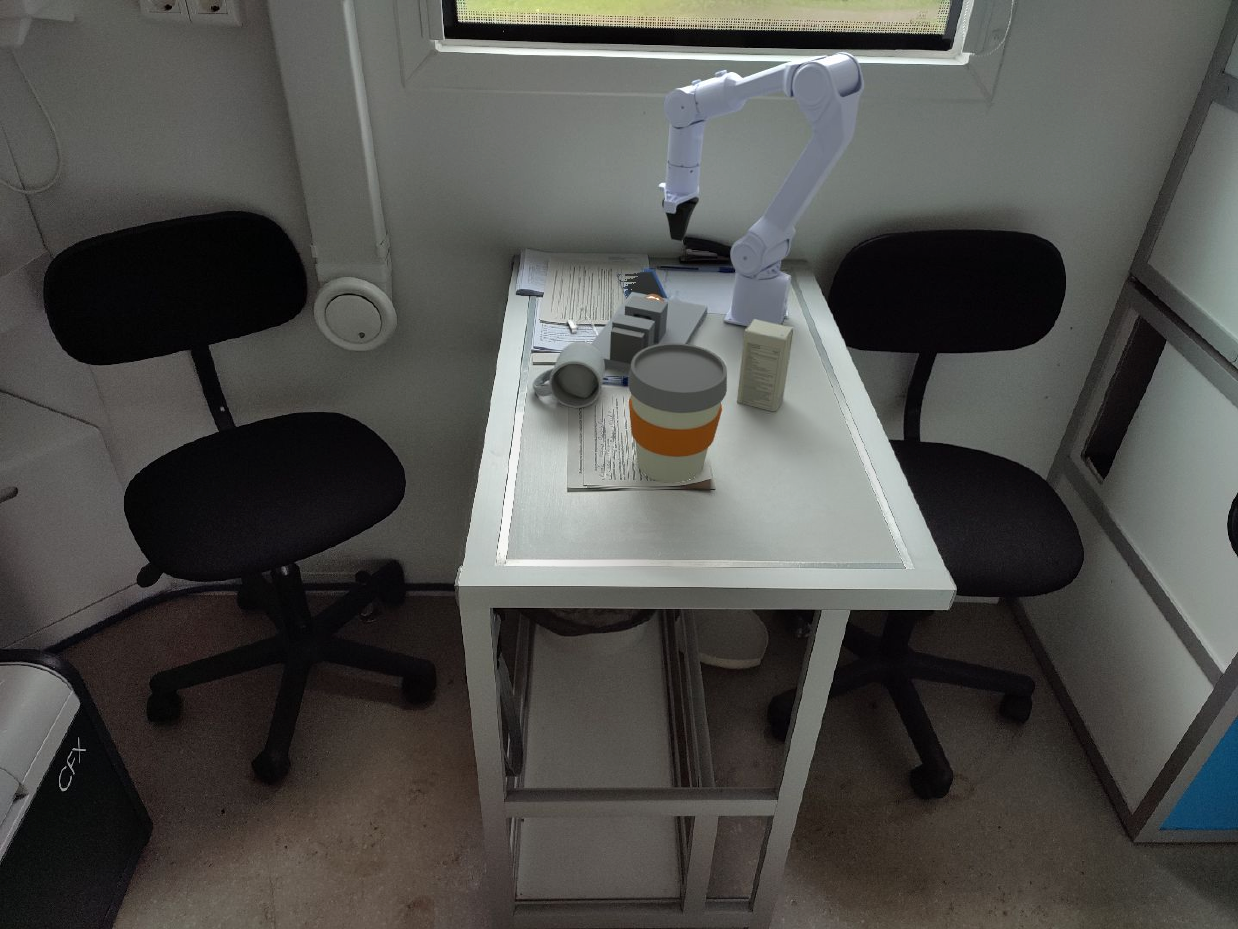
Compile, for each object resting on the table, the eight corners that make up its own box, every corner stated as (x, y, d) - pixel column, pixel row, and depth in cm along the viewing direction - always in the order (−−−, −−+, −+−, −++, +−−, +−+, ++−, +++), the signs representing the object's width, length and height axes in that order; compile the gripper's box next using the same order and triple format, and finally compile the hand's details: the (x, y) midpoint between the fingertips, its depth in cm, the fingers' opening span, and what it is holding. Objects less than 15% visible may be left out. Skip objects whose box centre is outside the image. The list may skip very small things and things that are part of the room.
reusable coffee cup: (605, 455, 117) (608, 359, 108) (675, 425, 123) (684, 332, 114) (663, 504, 109) (672, 405, 100) (735, 469, 115) (750, 373, 106)
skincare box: (783, 399, 130) (796, 327, 122) (775, 413, 127) (788, 340, 119) (743, 388, 132) (753, 316, 124) (734, 401, 129) (744, 329, 121)
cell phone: (653, 272, 165) (653, 268, 164) (669, 305, 154) (669, 301, 154) (615, 273, 164) (616, 269, 163) (628, 306, 153) (629, 302, 152)
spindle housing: (706, 314, 151) (710, 277, 147) (667, 380, 133) (670, 340, 128) (631, 299, 154) (633, 263, 150) (582, 362, 136) (583, 322, 132)
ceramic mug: (605, 381, 132) (606, 336, 127) (601, 410, 125) (601, 364, 121) (537, 377, 132) (535, 332, 128) (529, 406, 126) (526, 360, 121)
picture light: (605, 347, 141) (605, 336, 140) (579, 351, 140) (579, 339, 139) (584, 309, 152) (584, 298, 150) (560, 312, 151) (560, 301, 149)
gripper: (673, 146, 152) (667, 220, 160) (648, 171, 141) (643, 249, 149) (712, 152, 150) (704, 227, 158) (689, 177, 139) (682, 256, 147)
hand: (677, 238), depth 153 cm, fingers closed
